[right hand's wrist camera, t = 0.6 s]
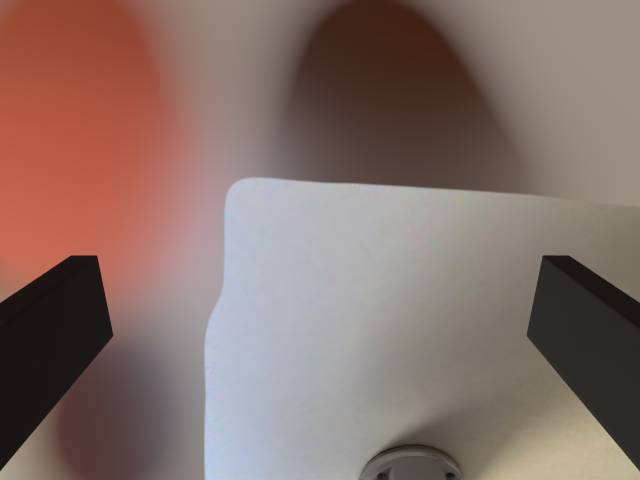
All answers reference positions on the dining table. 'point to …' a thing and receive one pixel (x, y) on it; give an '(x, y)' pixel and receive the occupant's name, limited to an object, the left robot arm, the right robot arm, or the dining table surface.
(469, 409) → the dining table surface
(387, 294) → the dining table surface
